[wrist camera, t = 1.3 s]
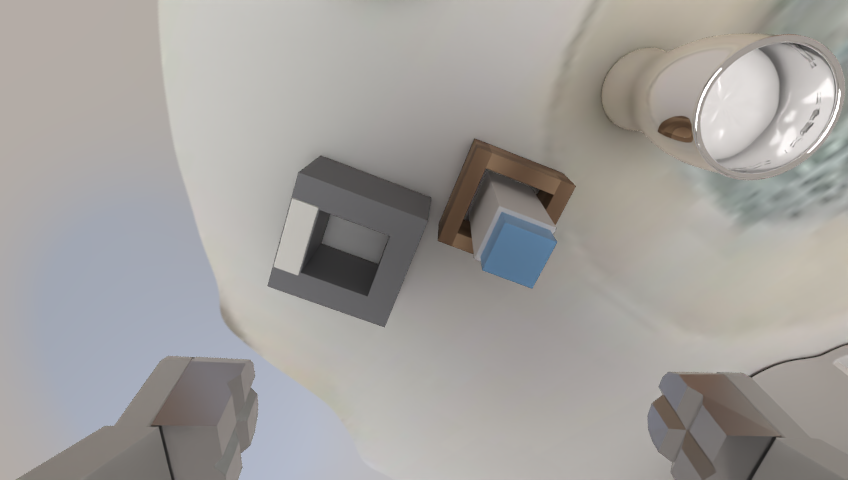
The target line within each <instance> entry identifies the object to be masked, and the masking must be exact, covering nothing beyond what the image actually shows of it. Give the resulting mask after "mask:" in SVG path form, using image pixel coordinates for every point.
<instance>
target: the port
mask: <svg viewBox="0 0 848 480" xmlns="http://www.w3.org/2000/svg"><path fill="white" fill-rule="evenodd" d="M430 203H431V197H428V196H426V195H423V194H421V193H418V192H415V191H413V190H410V189H407V188H405V187H402V186H399V185H397V184H394V183H392V182H389V181H386V180H384V179H381V178H378V177H376V176H373V175H371V174H368V173H365V172H363V171H360V170H357V169H355V168H352V167H350V166H347V165H344V164H342V163H339V162H336V161H334V160H331V159H328V158H326V157H323V156H320V157H318V158H317V159H316V160H314V161H313V162H312V163H310V164H309V165H308V166H306V167H305V168H304V169H302V170H301V171H300V172H298V176H297V180H296V183H295V187H294V191H293V194H292V198H291V202H290V205H289V209H288V213H287V216H286V220H285V224H284V227H283V231H282V235H281V238H280V242H279V246H278V249H277V253H276V257H275V260H274V264H273V268H272V271H271V275H270V279H269V282H268V287H271V288H274V289H277V290H280V291H283V292H285V293H288V294H291V295H294V296H297V297H300V298H303V299H305V300H308V301H311V302H314V303H317V304H320V305H322V306H325V307H328V308H331V309H334V310H337V311H340V312H342V313H345V314H348V315H351V316H354V317H357V318H360V319H362V320H365V321H368V322H371V323H374V324H377V325H379V326H382V327H385V325H386V323H387V320H388V318H389V315H390V313H391V310H392V308H393V306H394V303H395V301H396V298H397V296H398V293H399V291H400V288H401V286H402V283H403V281H404V279H405V276H406V274H407V271H408V269H409V266H410V264H411V261H412V259H413V256H414V254H415V251H416V249H417V247H418V244H419V242H420V239H421V237H422V234H423V232H424V229H425V227H426V224H427V222H428V217H429V210H430ZM330 214H332V215H335V216H337V217H340V218H343V219H345V220H348V221H351V222H353V223H356V224H359V225H362V226H364V227H367V228H370V229H372V230H375V231H378V232H381V233H383V234H386V235H389V239H388V241H387V244H386V247H385V249H384V252H383V255H382V257H381V260H380V263H379V265H378V264H375V263H373V262H370V261H367V260H364V259H362V258H359V257H356V256H353V255H351V254H348V253H345V252H342V251H340V250H337V249H334V248H331V247H329V246H326V245H323V244H321V242H322V239H323V235H324V232H325V229H326V226H327V223H328V219H329V216H330Z"/></svg>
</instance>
